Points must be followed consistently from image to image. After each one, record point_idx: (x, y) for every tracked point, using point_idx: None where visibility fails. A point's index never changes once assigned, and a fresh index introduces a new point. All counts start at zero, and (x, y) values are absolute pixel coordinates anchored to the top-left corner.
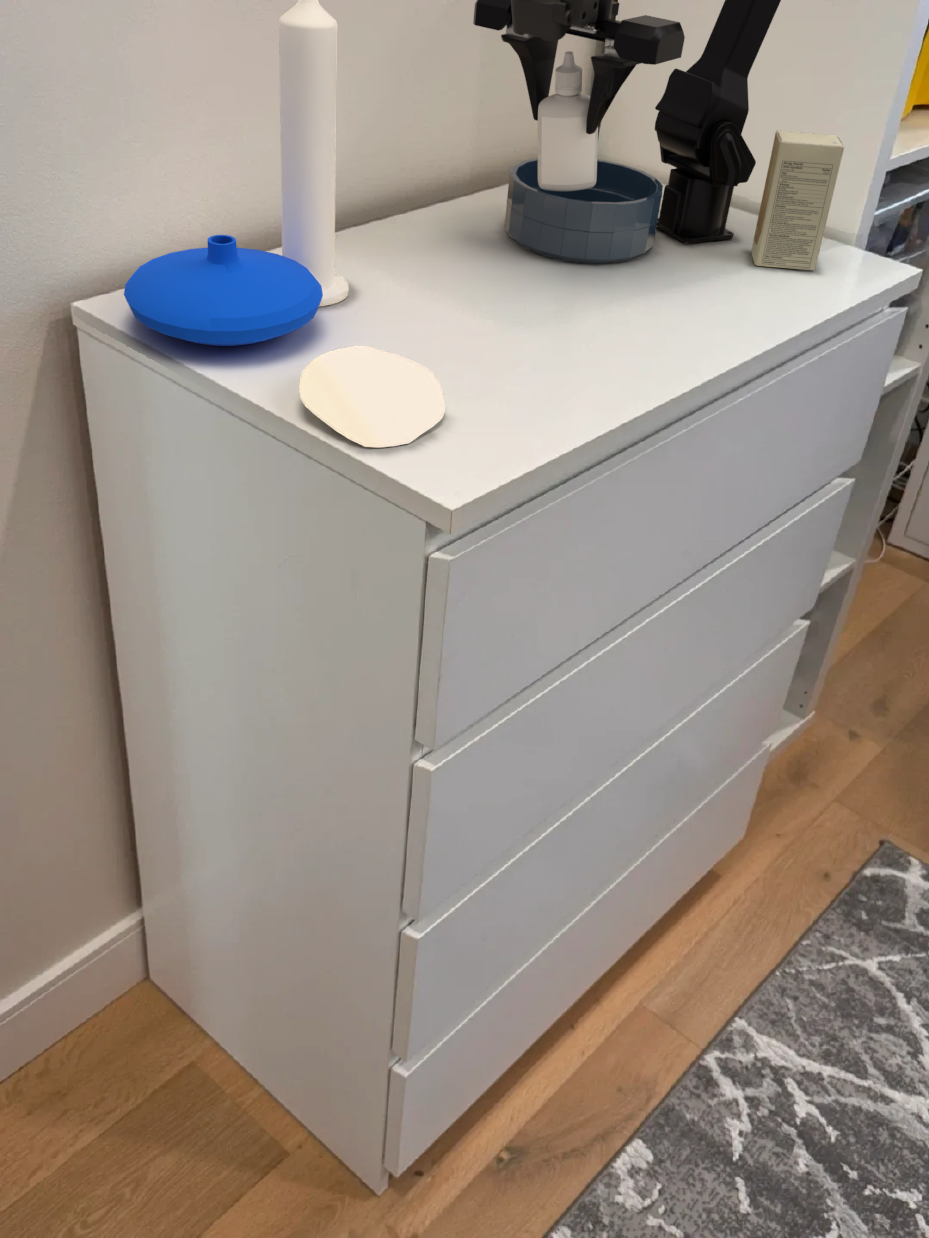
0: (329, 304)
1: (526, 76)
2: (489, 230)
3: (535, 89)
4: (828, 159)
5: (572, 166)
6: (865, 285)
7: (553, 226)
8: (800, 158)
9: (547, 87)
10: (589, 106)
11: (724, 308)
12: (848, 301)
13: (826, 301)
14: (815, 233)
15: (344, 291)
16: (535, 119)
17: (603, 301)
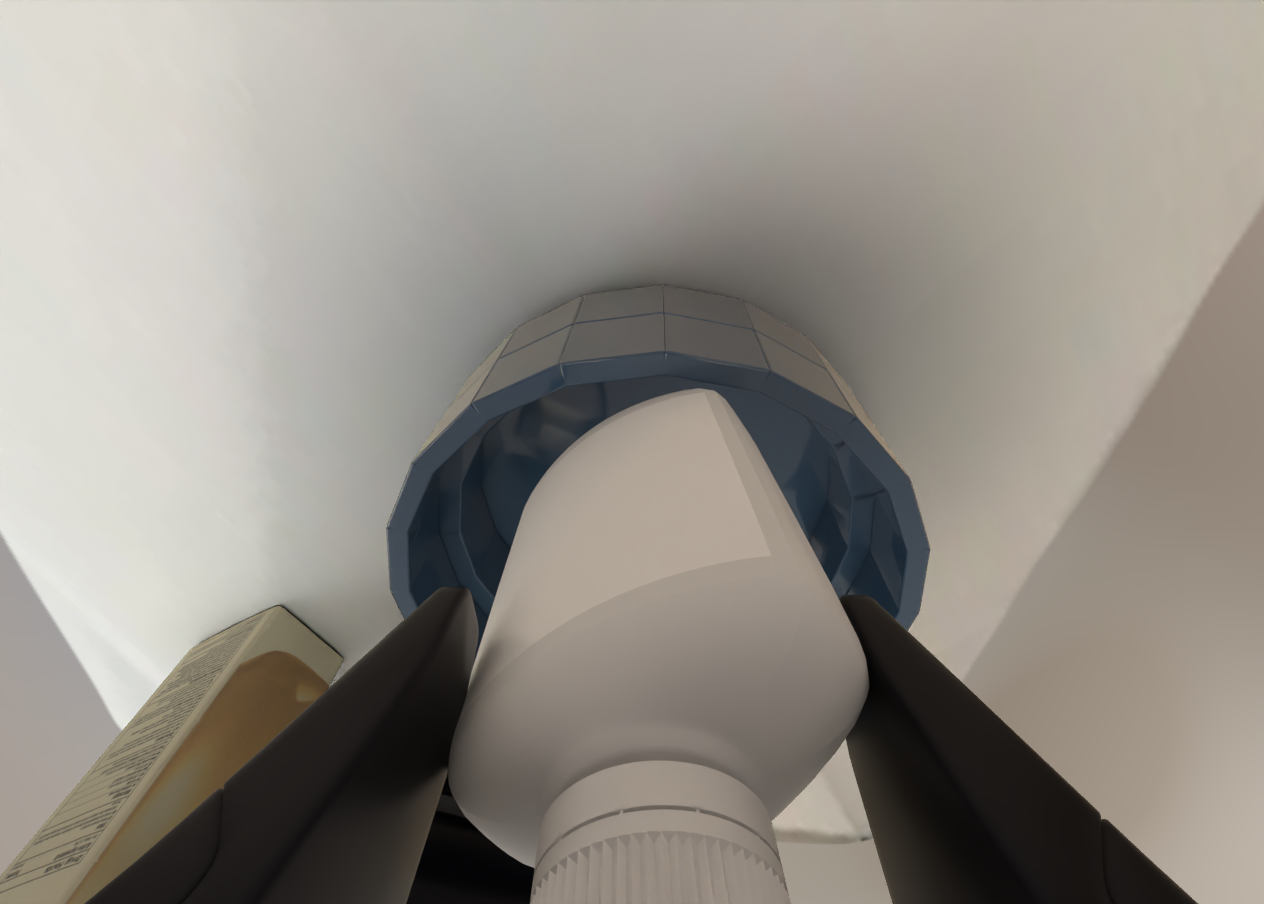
0: None
1: (1143, 876)
2: (891, 367)
3: (955, 767)
4: None
5: (573, 476)
6: (98, 651)
7: (614, 318)
8: (37, 888)
9: (895, 859)
10: (373, 721)
11: (86, 331)
12: (30, 566)
13: (45, 537)
14: (142, 712)
15: None
16: (855, 596)
17: (279, 84)
